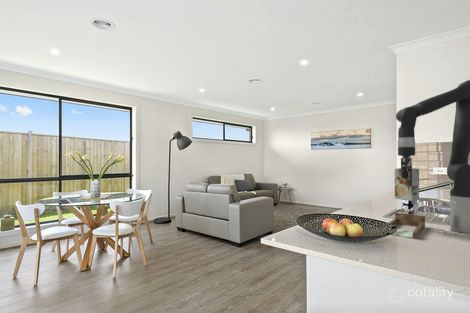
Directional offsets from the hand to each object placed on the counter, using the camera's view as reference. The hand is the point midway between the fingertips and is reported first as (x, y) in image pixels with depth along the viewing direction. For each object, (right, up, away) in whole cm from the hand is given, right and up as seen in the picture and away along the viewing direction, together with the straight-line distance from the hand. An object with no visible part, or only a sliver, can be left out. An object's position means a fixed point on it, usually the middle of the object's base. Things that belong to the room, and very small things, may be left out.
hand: (406, 177), depth 131 cm
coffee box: (0, -11, 0) cm, 11 cm away
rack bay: (-4, -26, -4) cm, 26 cm away
